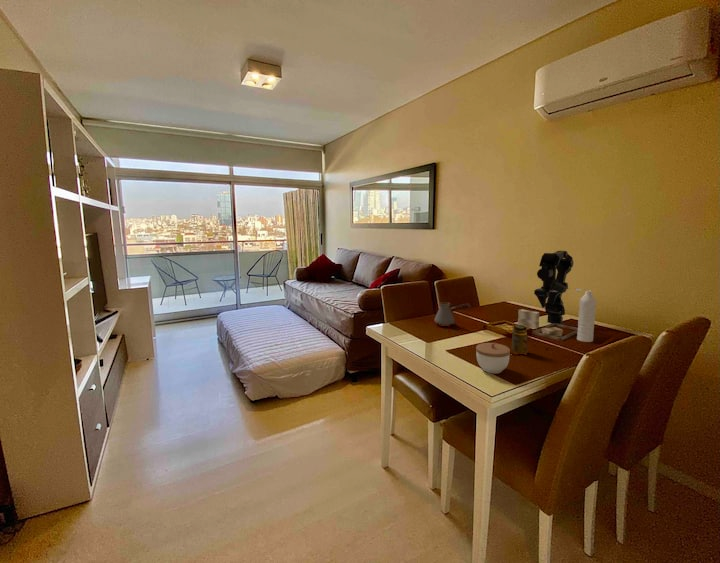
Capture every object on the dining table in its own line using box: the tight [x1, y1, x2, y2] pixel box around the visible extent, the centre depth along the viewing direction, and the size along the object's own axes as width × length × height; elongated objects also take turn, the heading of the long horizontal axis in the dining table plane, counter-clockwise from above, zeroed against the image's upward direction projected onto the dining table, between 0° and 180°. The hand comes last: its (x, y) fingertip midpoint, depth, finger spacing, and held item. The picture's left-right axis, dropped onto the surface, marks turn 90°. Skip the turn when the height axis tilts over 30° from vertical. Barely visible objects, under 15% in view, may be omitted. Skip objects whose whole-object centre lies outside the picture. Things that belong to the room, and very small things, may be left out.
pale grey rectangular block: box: [517, 308, 540, 330], centre depth 186 cm, size 10×3×9 cm, turn 36°
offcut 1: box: [541, 326, 564, 334], centre depth 171 cm, size 8×5×2 cm, turn 101°
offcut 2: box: [542, 332, 563, 338], centre depth 172 cm, size 8×5×2 cm, turn 69°
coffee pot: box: [433, 301, 470, 325], centre depth 193 cm, size 21×12×15 cm, turn 44°
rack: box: [531, 323, 578, 342], centre depth 175 cm, size 14×23×2 cm, turn 126°
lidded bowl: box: [475, 342, 511, 375], centre depth 135 cm, size 13×13×11 cm
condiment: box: [511, 324, 528, 353], centre depth 152 cm, size 7×8×12 cm
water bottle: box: [575, 288, 597, 343], centre depth 162 cm, size 9×6×25 cm
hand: (547, 306), depth 180 cm, fingers open, 9 cm apart
